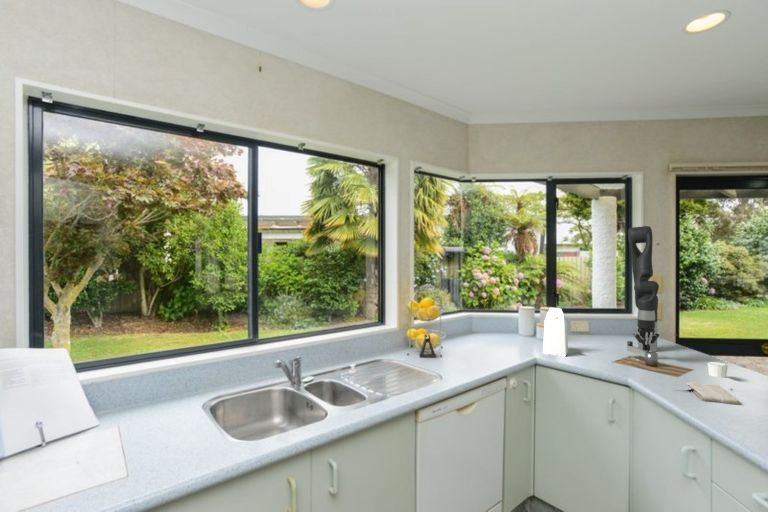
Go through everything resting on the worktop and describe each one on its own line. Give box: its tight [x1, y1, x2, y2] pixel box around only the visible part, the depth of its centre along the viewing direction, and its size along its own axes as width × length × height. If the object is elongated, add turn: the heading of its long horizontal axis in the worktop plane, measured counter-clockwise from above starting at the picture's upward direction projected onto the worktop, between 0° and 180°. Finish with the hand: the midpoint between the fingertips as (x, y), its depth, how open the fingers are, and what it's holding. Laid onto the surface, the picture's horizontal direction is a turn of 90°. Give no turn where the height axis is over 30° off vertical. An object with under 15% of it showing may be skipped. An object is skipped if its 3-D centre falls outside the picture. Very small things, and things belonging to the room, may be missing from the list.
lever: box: [626, 340, 659, 367], centre depth 190 cm, size 19×5×8 cm, turn 2°
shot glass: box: [706, 361, 728, 379], centre depth 168 cm, size 7×7×7 cm
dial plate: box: [612, 355, 695, 378], centre depth 183 cm, size 20×28×2 cm
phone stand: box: [418, 333, 437, 359], centre depth 207 cm, size 9×6×12 cm, turn 86°
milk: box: [542, 307, 569, 357], centre depth 212 cm, size 12×12×26 cm
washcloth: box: [686, 381, 740, 406], centre depth 149 cm, size 12×18×3 cm, turn 159°
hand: (646, 351), depth 194 cm, fingers closed
